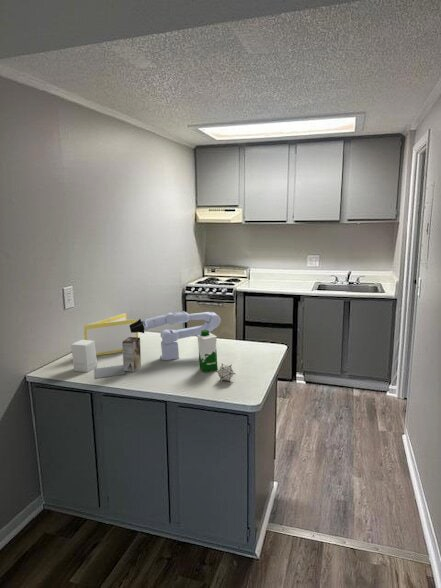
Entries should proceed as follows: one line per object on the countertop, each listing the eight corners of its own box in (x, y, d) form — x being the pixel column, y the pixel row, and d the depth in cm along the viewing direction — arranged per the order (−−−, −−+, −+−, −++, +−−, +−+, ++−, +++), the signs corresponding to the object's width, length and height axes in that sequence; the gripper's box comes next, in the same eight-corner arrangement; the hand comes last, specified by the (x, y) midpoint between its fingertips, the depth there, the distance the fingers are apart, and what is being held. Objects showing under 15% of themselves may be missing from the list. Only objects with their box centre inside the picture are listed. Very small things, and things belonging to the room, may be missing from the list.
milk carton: (212, 364, 223) (210, 328, 219) (220, 369, 215) (218, 332, 211) (197, 368, 219) (195, 331, 215) (204, 373, 211) (202, 335, 207)
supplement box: (97, 366, 228) (95, 340, 225) (87, 372, 219) (84, 345, 216) (84, 365, 231) (81, 339, 228) (73, 371, 222) (70, 344, 219)
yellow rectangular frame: (123, 340, 275) (121, 311, 271) (149, 344, 264) (147, 314, 260) (82, 357, 245) (79, 325, 241) (110, 362, 234) (107, 329, 230)
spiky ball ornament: (222, 387, 202) (215, 368, 206) (238, 379, 202) (230, 361, 206) (220, 385, 194) (212, 365, 197) (237, 377, 194) (228, 358, 197)
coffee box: (130, 365, 227) (129, 336, 224) (141, 365, 226) (140, 337, 223) (123, 371, 218) (122, 341, 215) (134, 372, 217) (133, 342, 214)
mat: (123, 365, 227) (123, 364, 227) (125, 374, 214) (125, 373, 214) (95, 369, 223) (95, 368, 223) (95, 378, 210) (95, 377, 210)
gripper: (151, 312, 237) (127, 318, 234) (154, 318, 223) (129, 325, 220) (154, 324, 239) (130, 330, 236) (157, 331, 225) (132, 337, 222)
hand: (130, 328), depth 228 cm, fingers open, 7 cm apart
